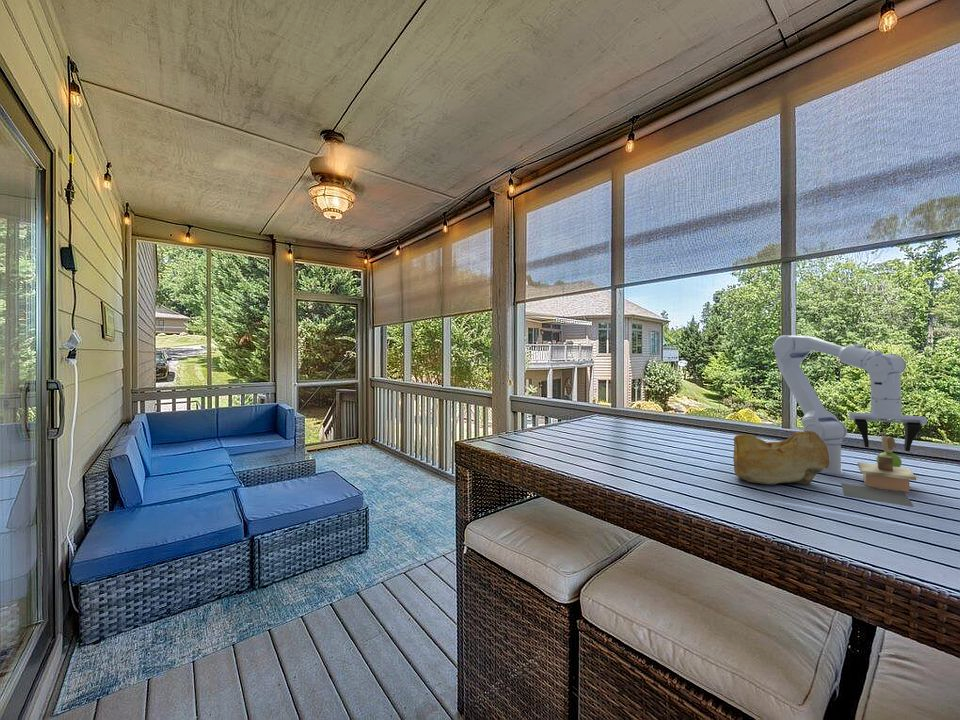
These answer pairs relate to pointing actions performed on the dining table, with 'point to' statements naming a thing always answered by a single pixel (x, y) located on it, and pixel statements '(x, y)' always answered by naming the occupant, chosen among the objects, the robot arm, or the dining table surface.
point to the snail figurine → (890, 450)
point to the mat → (876, 494)
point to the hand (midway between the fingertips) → (886, 448)
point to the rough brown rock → (780, 458)
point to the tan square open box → (886, 482)
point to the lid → (886, 469)
